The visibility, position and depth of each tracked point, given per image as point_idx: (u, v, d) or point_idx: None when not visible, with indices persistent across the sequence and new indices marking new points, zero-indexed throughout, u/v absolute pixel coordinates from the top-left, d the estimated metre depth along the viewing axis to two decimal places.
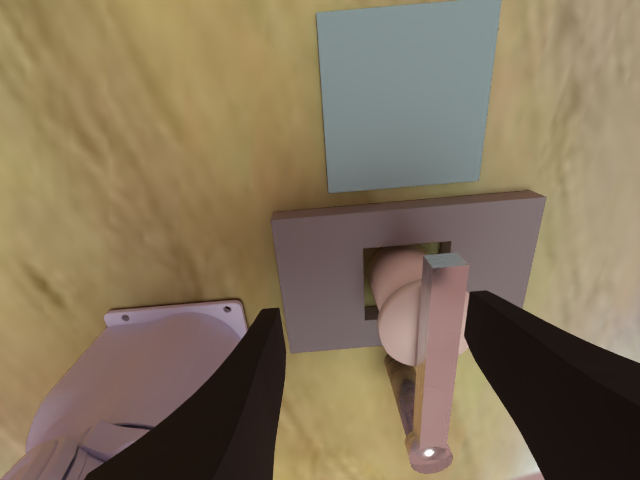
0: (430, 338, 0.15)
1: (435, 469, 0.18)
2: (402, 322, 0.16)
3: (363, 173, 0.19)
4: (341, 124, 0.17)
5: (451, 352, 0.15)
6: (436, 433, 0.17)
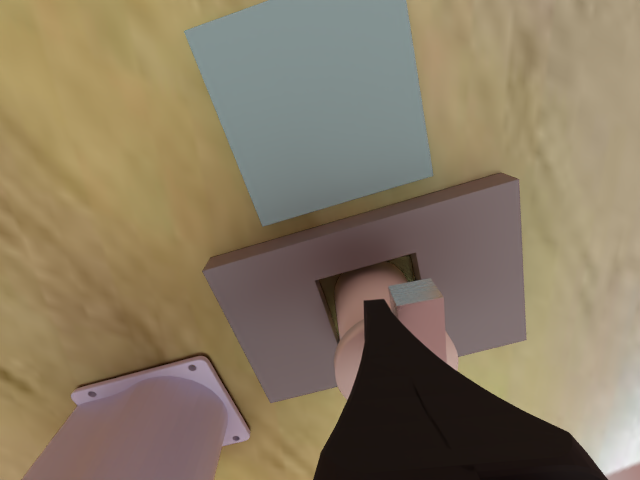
0: None
1: None
2: None
3: (294, 197, 0.16)
4: (252, 149, 0.15)
5: None
6: None
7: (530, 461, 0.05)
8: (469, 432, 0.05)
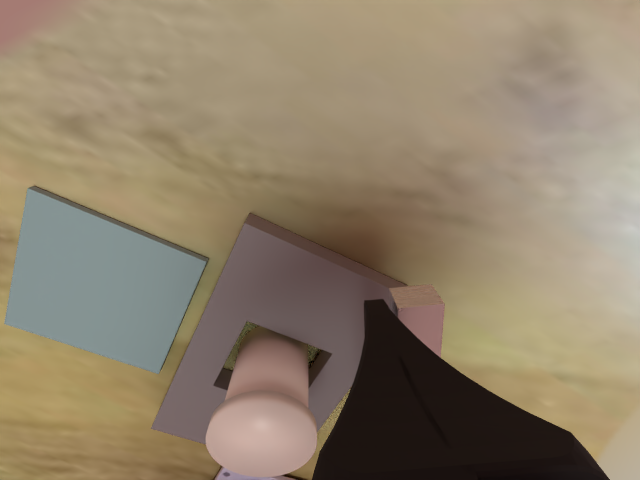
0: None
1: None
2: (239, 457, 0.15)
3: (152, 345, 0.19)
4: (100, 343, 0.19)
5: None
6: None
7: (532, 461, 0.05)
8: (471, 432, 0.05)
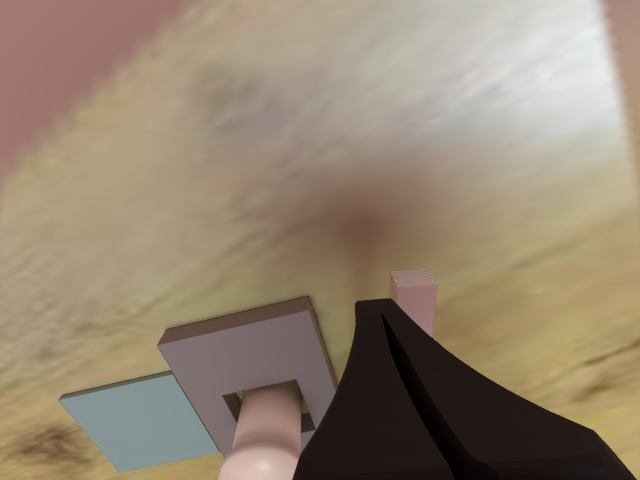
0: None
1: None
2: None
3: (198, 438, 0.26)
4: (171, 454, 0.26)
5: None
6: None
7: (558, 459, 0.05)
8: (493, 430, 0.05)
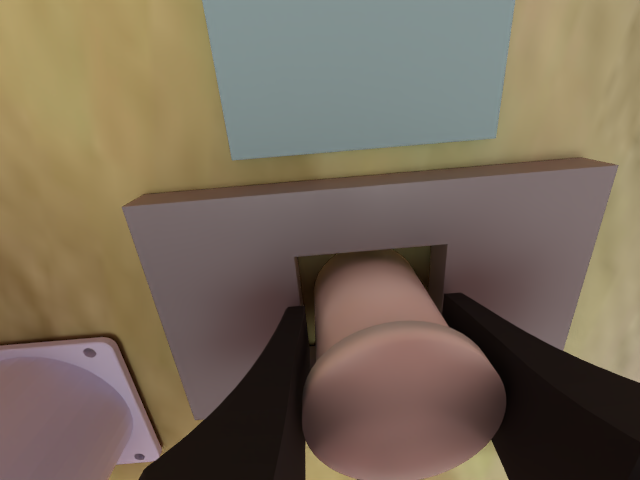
0: None
1: None
2: (346, 410, 0.08)
3: (290, 123, 0.10)
4: (239, 26, 0.09)
5: None
6: None
7: None
8: None
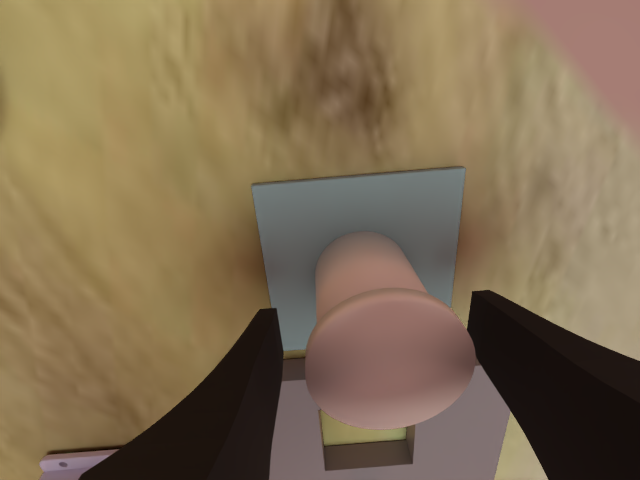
0: None
1: None
2: (341, 362, 0.10)
3: None
4: (288, 289, 0.15)
5: None
6: None
7: None
8: None
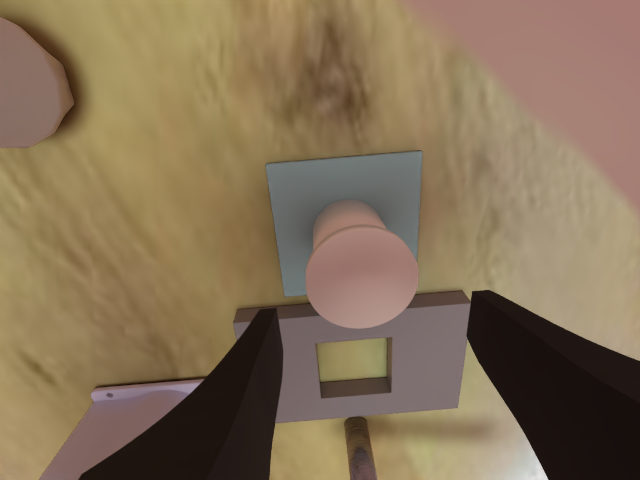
0: None
1: None
2: (329, 275, 0.14)
3: None
4: (292, 245, 0.20)
5: None
6: None
7: None
8: None
